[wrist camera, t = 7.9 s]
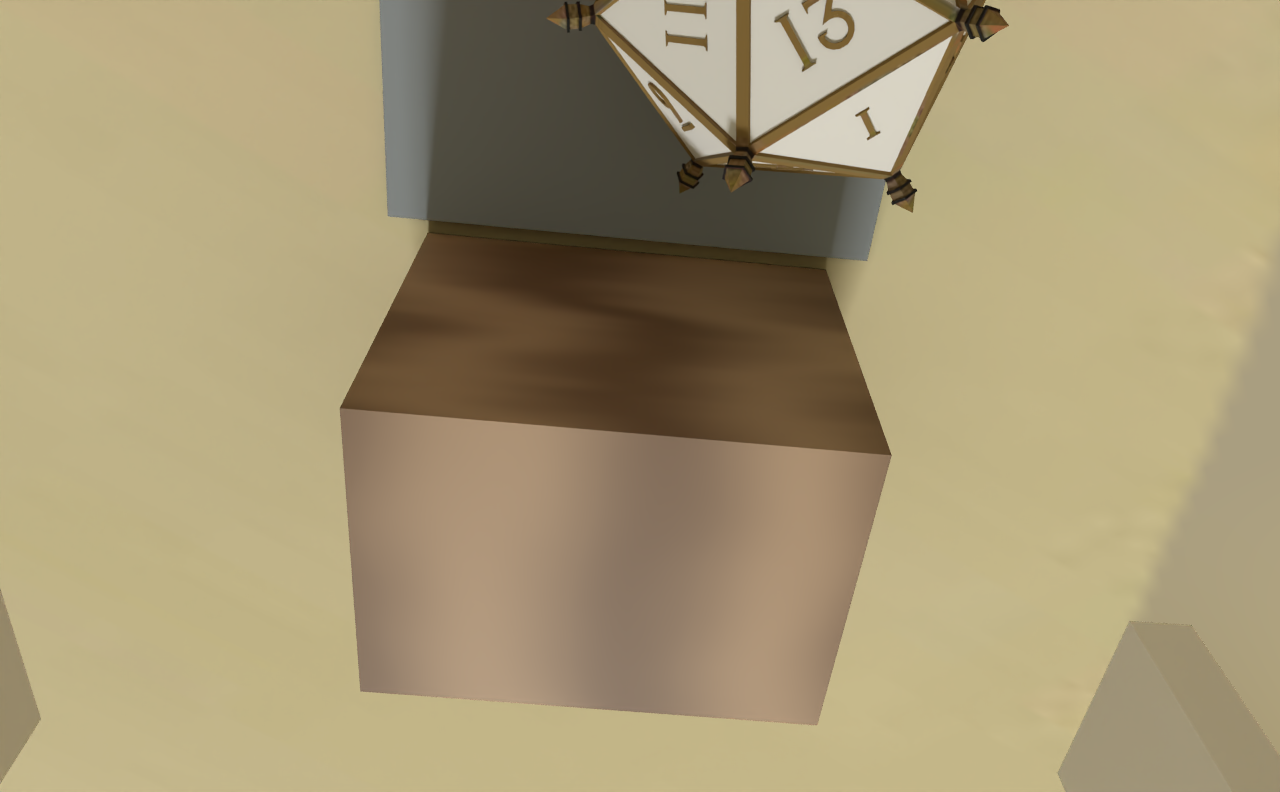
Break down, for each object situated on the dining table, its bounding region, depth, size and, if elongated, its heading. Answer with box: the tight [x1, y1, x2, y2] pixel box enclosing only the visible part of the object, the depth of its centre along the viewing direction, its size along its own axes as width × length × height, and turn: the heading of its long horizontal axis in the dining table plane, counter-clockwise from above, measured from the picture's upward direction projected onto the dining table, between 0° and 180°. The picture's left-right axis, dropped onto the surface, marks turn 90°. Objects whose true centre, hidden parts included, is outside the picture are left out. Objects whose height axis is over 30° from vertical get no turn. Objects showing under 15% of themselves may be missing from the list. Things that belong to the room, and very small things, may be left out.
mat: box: [380, 0, 885, 261], centre depth 24 cm, size 13×11×1 cm
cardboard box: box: [340, 233, 892, 725], centre depth 26 cm, size 11×8×9 cm
